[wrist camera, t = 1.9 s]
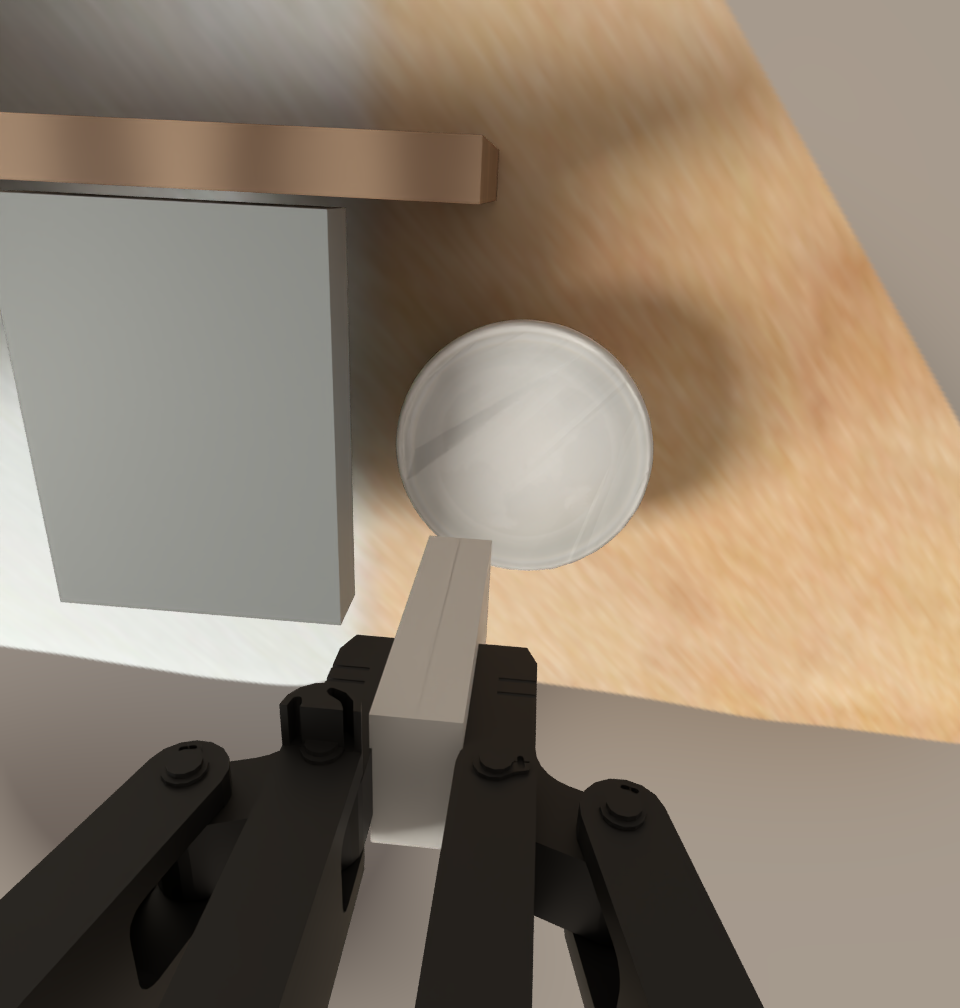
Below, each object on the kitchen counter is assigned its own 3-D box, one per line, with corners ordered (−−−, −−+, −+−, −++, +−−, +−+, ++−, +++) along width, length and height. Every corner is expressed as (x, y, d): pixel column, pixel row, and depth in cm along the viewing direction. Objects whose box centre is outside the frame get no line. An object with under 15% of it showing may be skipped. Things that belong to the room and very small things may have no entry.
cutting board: (-110, 168, 34) (-336, 161, 25) (-122, 119, 33) (-360, 94, 24) (496, 200, 32) (479, 204, 24) (499, 149, 32) (482, 134, 23)
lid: (93, 573, 33) (60, 602, 31) (23, 190, 27) (-25, 190, 25) (354, 594, 33) (340, 625, 30) (345, 207, 26) (326, 209, 24)
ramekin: (460, 266, 34) (446, 279, 29) (681, 359, 35) (703, 386, 30) (384, 476, 38) (361, 518, 33) (581, 553, 39) (587, 605, 34)
